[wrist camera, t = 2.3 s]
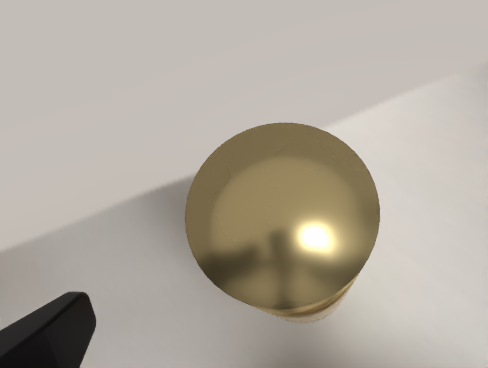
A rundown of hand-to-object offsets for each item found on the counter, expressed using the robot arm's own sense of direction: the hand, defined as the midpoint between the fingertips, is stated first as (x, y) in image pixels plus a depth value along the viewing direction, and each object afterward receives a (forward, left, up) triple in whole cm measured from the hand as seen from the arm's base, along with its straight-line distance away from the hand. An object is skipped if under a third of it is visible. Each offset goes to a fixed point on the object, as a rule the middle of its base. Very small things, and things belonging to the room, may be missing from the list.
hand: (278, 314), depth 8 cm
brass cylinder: (+2, +1, -10) cm, 10 cm away
